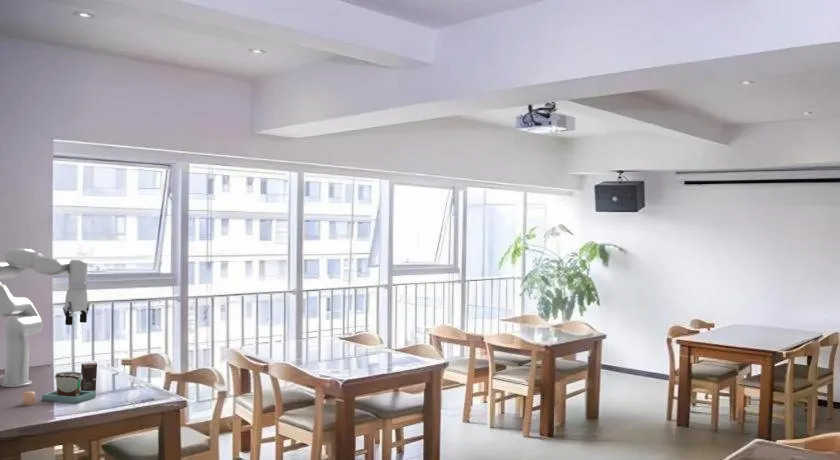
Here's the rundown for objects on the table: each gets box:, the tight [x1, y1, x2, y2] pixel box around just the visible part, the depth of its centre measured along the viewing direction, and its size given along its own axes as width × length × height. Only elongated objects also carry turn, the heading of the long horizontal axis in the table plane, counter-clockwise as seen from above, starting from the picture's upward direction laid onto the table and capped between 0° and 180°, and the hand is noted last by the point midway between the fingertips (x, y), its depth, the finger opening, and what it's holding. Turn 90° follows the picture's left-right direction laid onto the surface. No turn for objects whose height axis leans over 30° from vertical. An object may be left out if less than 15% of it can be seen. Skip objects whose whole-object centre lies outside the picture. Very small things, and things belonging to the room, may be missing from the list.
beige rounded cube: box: [22, 390, 36, 407], centre depth 287 cm, size 4×4×5 cm
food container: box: [54, 371, 83, 397], centre depth 300 cm, size 12×6×10 cm, turn 78°
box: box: [80, 362, 98, 391], centre depth 316 cm, size 6×4×12 cm
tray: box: [41, 389, 97, 404], centre depth 298 cm, size 17×11×2 cm, turn 80°
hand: (76, 323), depth 316 cm, fingers open, 9 cm apart
